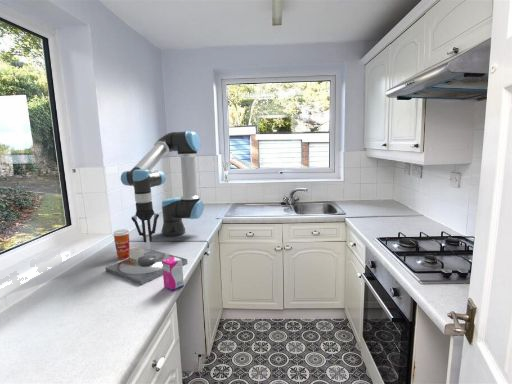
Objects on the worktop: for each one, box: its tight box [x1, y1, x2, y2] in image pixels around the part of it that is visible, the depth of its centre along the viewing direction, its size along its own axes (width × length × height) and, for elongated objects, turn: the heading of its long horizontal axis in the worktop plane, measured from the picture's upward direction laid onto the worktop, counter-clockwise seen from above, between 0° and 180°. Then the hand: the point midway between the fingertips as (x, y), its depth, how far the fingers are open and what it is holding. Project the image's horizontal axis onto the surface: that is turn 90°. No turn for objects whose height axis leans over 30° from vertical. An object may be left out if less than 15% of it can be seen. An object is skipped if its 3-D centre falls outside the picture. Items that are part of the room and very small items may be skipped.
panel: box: [104, 249, 188, 286], centre depth 139 cm, size 26×26×3 cm
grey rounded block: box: [129, 246, 156, 266], centre depth 141 cm, size 15×8×6 cm, turn 59°
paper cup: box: [112, 228, 131, 260], centre depth 152 cm, size 8×8×14 cm
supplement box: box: [162, 257, 185, 292], centre depth 119 cm, size 6×6×12 cm
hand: (148, 247), depth 147 cm, fingers closed
